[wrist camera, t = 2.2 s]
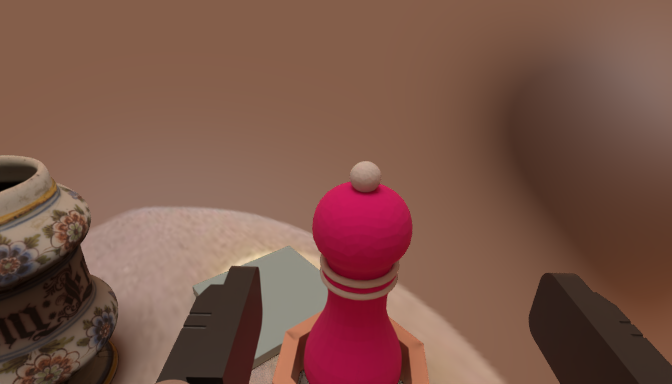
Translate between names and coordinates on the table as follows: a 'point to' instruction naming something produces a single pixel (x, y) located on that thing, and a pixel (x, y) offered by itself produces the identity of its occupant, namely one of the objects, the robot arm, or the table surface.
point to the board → (281, 296)
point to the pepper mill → (358, 281)
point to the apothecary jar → (49, 284)
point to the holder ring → (295, 343)
